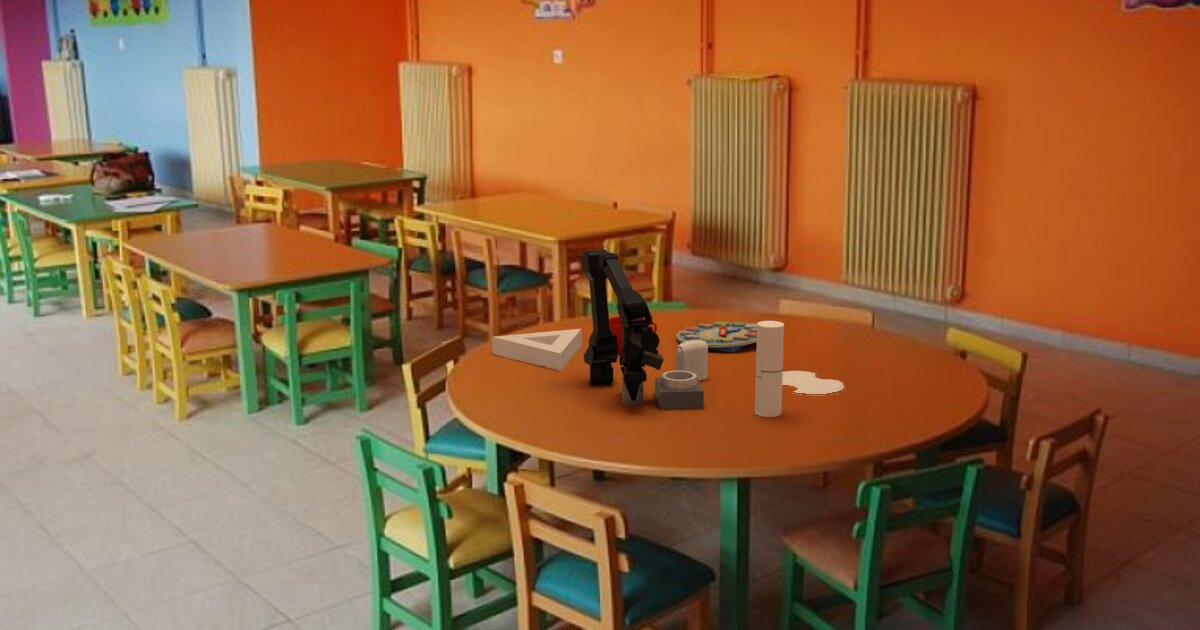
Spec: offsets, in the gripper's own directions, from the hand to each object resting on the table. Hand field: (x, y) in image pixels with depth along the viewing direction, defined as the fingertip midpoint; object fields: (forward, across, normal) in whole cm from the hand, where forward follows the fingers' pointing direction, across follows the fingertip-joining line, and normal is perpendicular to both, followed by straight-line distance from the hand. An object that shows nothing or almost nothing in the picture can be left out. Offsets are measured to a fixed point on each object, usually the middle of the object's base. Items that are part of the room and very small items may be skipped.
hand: (632, 396), depth 338 cm
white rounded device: (+2, +19, -19) cm, 27 cm away
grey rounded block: (+2, 0, 0) cm, 2 cm away
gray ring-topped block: (+2, 0, -13) cm, 13 cm away
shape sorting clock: (+2, +62, -35) cm, 71 cm away
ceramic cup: (+2, +53, -4) cm, 53 cm away
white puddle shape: (+2, +14, -52) cm, 54 cm away
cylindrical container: (+2, -12, -36) cm, 38 cm away
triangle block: (+2, +44, +23) cm, 50 cm away
